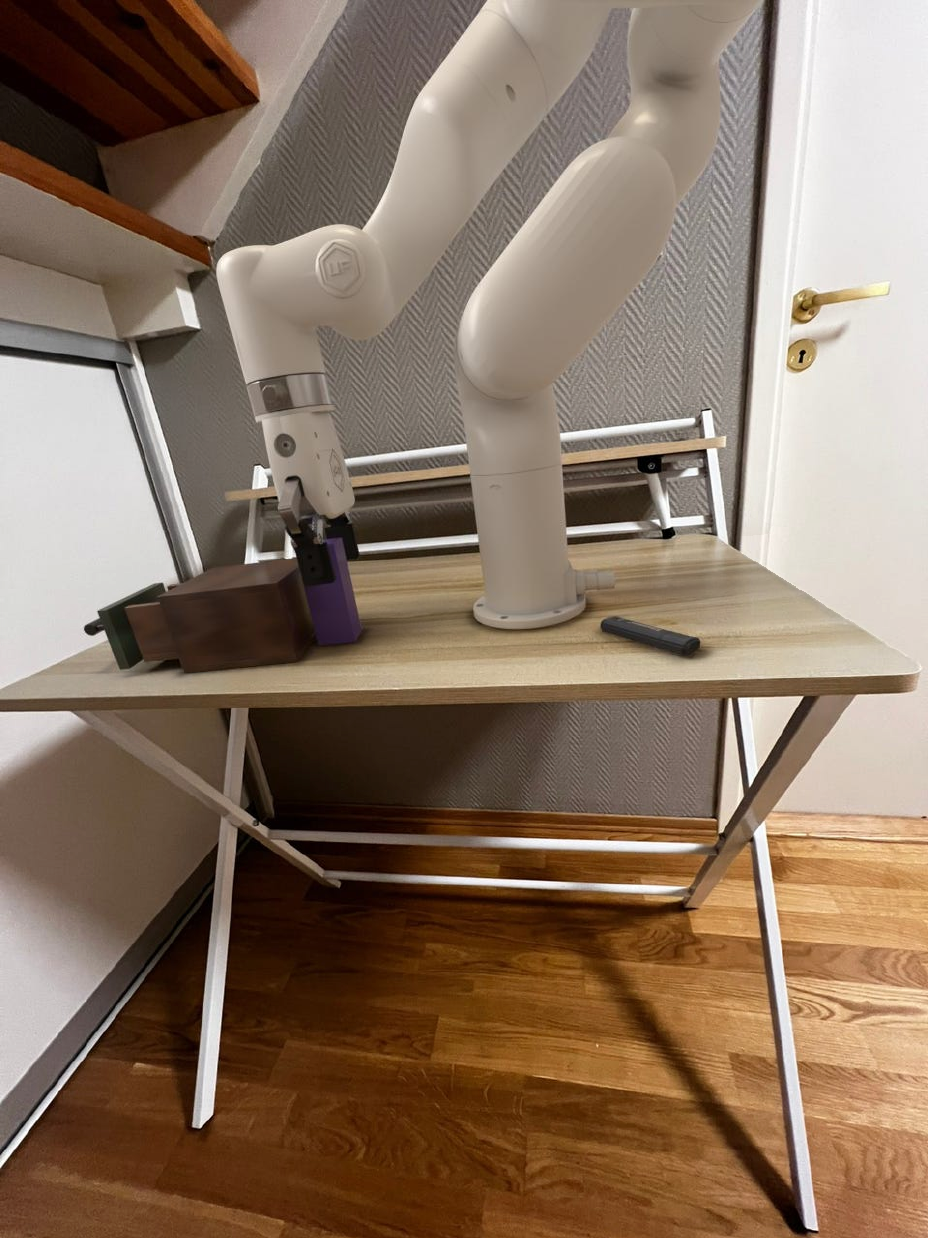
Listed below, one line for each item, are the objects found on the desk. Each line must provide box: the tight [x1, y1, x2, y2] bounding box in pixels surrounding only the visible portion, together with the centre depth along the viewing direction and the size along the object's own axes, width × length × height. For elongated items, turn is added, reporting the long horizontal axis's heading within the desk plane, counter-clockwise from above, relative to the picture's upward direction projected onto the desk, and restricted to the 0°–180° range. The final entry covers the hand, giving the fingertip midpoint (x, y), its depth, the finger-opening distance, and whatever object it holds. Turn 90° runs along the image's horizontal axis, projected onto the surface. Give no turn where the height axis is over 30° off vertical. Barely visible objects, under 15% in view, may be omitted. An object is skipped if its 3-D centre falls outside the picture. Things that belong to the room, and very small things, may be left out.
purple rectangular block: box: [301, 538, 363, 647], centre depth 58 cm, size 4×3×11 cm
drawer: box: [83, 582, 184, 671], centre depth 61 cm, size 15×10×7 cm, turn 87°
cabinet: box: [158, 557, 317, 674], centre depth 60 cm, size 13×11×9 cm
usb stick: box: [599, 615, 701, 658], centre depth 48 cm, size 10×3×2 cm, turn 35°
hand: (334, 570), depth 58 cm, fingers open, 9 cm apart
